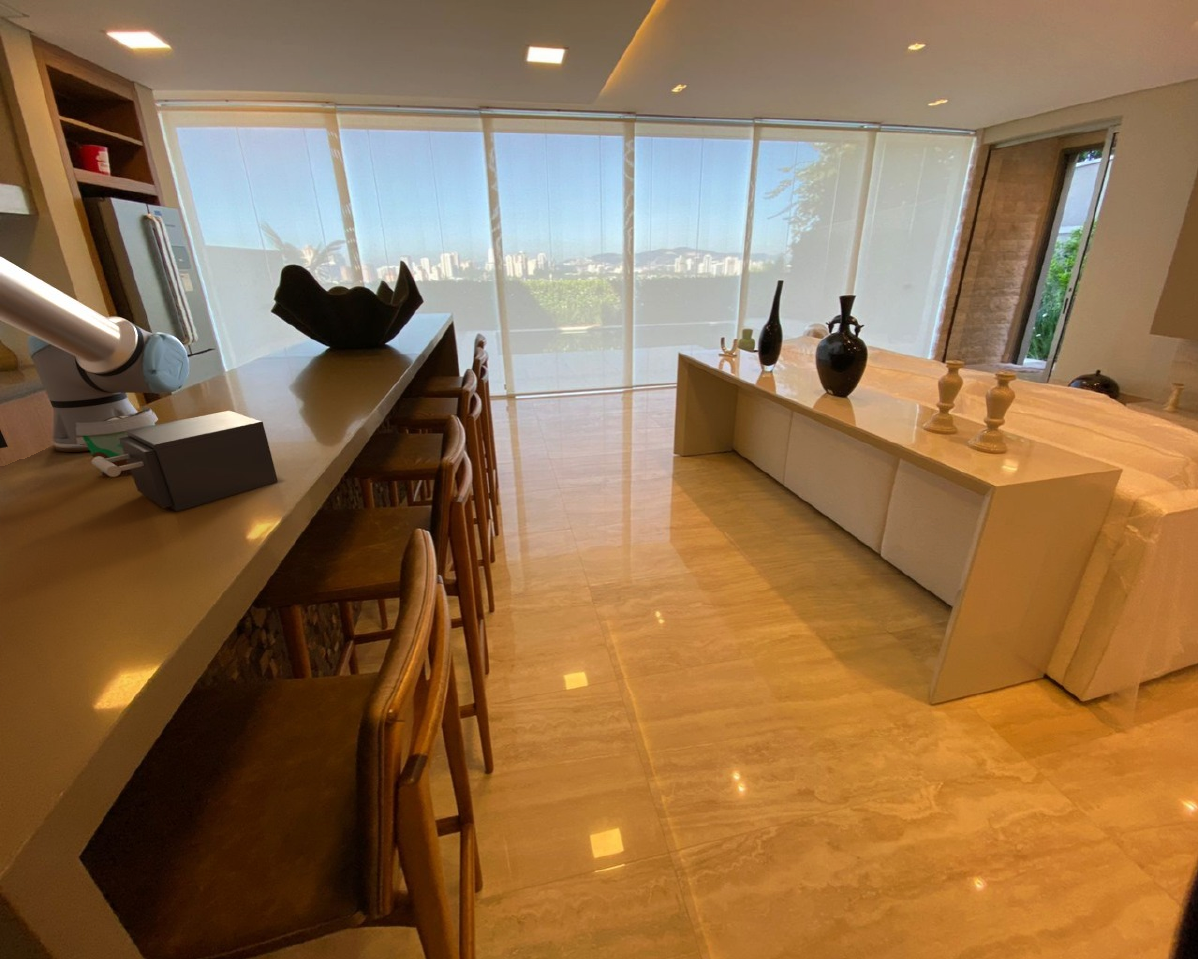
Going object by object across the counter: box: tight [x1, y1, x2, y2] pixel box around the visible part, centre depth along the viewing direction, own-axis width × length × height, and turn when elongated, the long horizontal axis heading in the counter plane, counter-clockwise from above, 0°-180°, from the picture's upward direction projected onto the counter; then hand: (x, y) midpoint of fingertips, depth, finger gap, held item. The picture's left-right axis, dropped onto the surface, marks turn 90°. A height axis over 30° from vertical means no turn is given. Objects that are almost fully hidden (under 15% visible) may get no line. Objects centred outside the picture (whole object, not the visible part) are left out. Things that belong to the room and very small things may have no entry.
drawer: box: [91, 437, 173, 509], centre depth 83 cm, size 18×11×9 cm, turn 144°
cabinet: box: [126, 410, 279, 513], centre depth 86 cm, size 15×13×11 cm
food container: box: [76, 406, 159, 477], centre depth 95 cm, size 12×6×10 cm, turn 168°
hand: (2, 435), depth 67 cm, fingers closed
